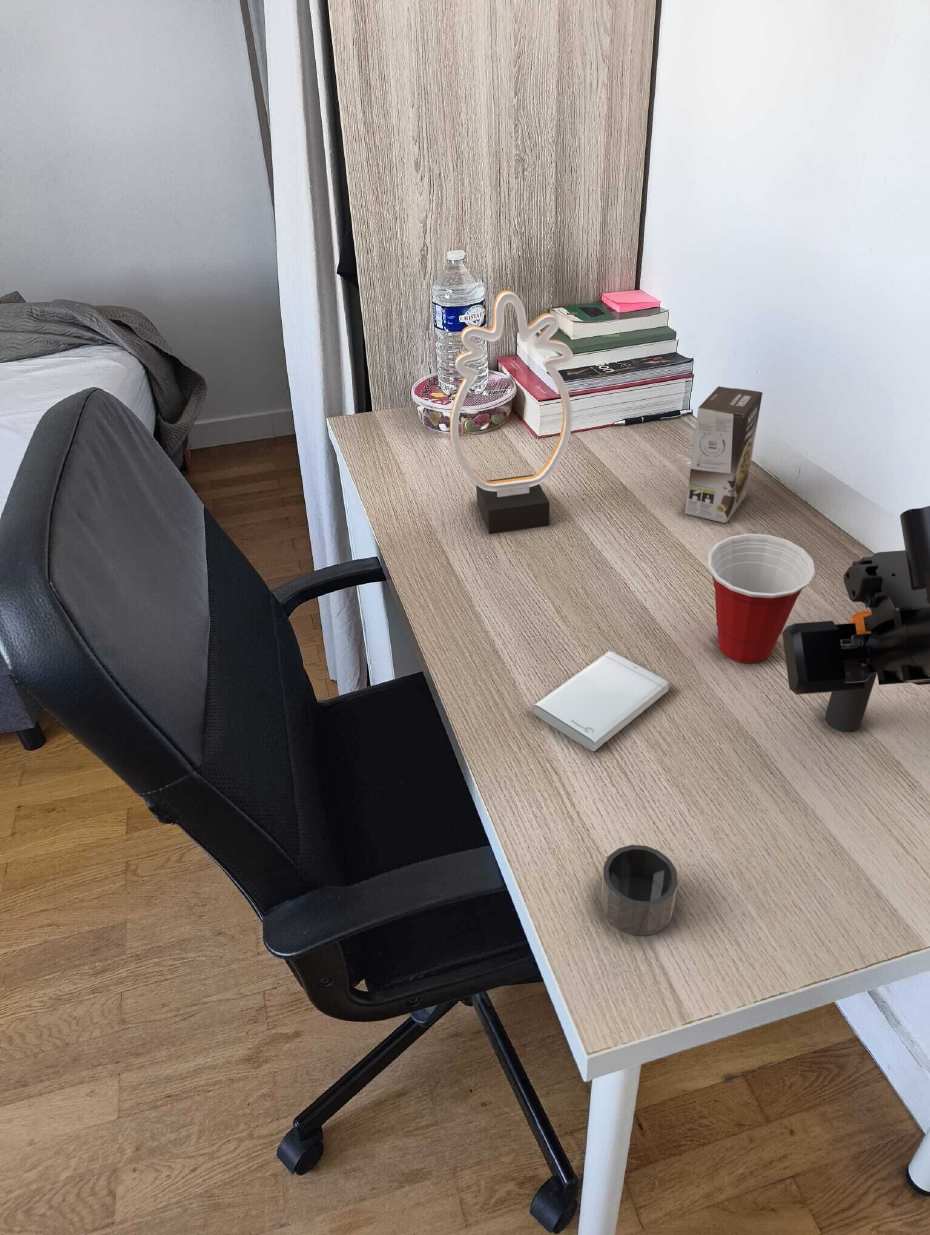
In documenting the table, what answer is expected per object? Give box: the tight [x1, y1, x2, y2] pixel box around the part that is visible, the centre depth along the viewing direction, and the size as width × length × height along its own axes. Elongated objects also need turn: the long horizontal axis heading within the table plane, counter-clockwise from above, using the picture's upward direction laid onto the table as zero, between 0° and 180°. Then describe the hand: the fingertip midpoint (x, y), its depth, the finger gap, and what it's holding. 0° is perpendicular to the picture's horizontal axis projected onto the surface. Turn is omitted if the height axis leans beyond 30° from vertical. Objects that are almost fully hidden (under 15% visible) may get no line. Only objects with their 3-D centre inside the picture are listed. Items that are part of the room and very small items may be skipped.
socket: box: [600, 844, 679, 937], centre depth 68 cm, size 6×6×4 cm
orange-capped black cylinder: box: [824, 610, 877, 733], centre depth 82 cm, size 4×4×12 cm
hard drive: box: [533, 650, 670, 752], centre depth 89 cm, size 2×8×12 cm
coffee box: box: [684, 386, 764, 524], centre depth 117 cm, size 9×6×16 cm
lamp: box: [449, 290, 574, 535], centre depth 113 cm, size 17×9×32 cm, turn 101°
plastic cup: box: [707, 533, 816, 664], centre depth 92 cm, size 11×11×12 cm
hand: (851, 661), depth 83 cm, fingers closed on orange-capped black cylinder, 3 cm apart
